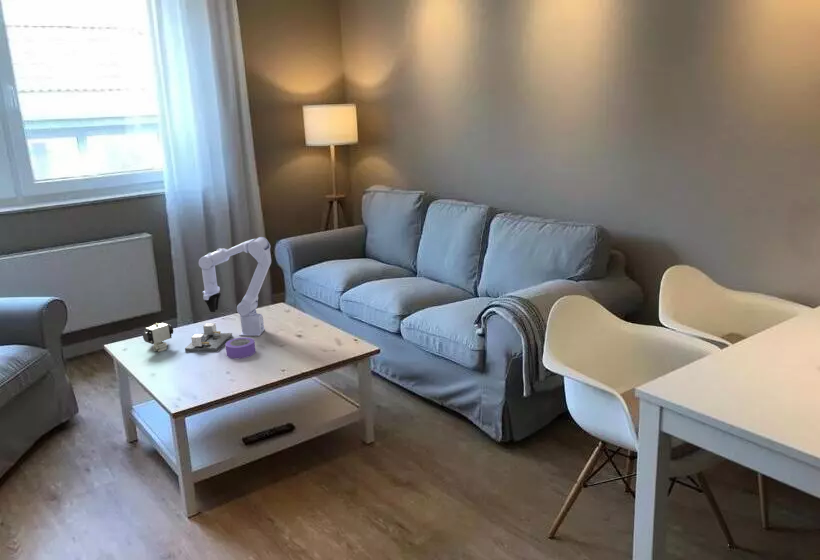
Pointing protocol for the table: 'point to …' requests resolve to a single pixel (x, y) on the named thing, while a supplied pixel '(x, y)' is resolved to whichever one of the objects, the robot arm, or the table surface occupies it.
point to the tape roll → (240, 347)
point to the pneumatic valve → (158, 335)
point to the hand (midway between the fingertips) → (214, 310)
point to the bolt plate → (207, 342)
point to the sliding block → (210, 329)
